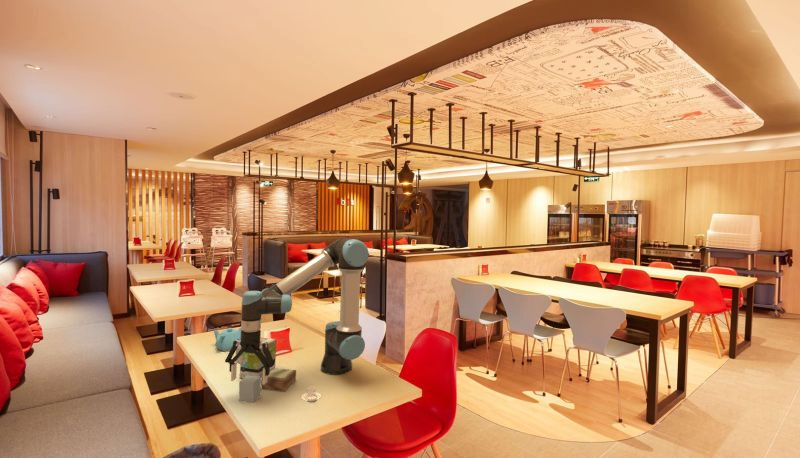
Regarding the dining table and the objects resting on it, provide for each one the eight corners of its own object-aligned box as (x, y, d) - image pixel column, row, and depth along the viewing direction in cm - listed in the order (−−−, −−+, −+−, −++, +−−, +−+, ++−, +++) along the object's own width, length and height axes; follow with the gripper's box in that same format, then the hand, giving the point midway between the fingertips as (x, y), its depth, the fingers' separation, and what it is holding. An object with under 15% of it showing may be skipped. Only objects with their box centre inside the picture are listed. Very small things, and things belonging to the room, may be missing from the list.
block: (260, 395, 166) (260, 376, 166) (253, 402, 160) (253, 382, 160) (246, 394, 167) (247, 375, 167) (239, 400, 161) (239, 381, 161)
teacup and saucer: (315, 404, 161) (316, 394, 161) (297, 402, 163) (297, 392, 162) (323, 394, 170) (323, 385, 170) (305, 392, 171) (306, 383, 171)
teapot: (213, 345, 225) (213, 326, 224) (242, 341, 232) (242, 323, 232) (215, 354, 212) (215, 333, 211) (245, 350, 219) (246, 330, 218)
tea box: (259, 380, 180) (259, 348, 180) (239, 378, 182) (239, 346, 182) (276, 368, 195) (276, 338, 194) (257, 366, 197) (257, 336, 196)
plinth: (295, 381, 181) (296, 369, 181) (285, 391, 170) (285, 379, 170) (272, 378, 183) (273, 367, 183) (261, 389, 172) (261, 376, 172)
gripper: (217, 329, 161) (215, 381, 161) (275, 335, 157) (273, 388, 158) (227, 324, 168) (226, 374, 169) (284, 329, 164) (282, 380, 165)
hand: (249, 381), depth 163 cm, fingers open, 13 cm apart
